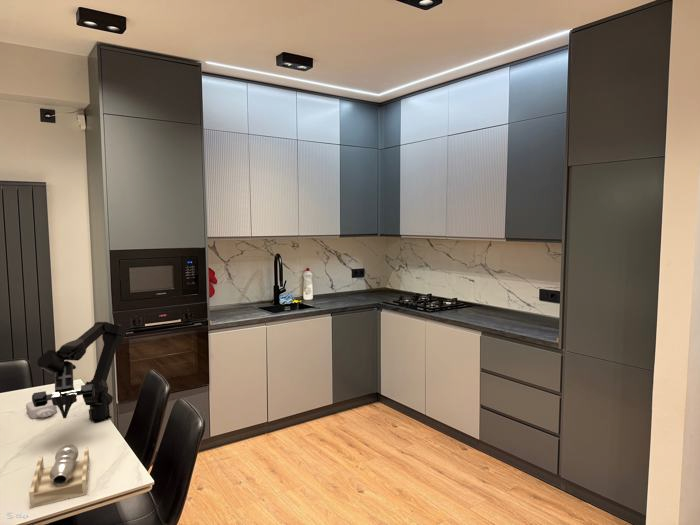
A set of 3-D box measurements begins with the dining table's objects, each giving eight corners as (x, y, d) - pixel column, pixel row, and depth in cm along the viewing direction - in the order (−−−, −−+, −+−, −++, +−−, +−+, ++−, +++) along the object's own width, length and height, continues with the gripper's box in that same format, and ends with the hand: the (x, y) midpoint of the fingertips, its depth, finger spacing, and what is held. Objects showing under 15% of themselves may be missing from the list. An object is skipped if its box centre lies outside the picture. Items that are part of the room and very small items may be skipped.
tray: (40, 470, 161) (39, 457, 160) (89, 460, 167) (88, 447, 166) (30, 507, 140) (29, 492, 140) (86, 494, 146) (85, 479, 146)
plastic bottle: (83, 452, 167) (77, 481, 149) (63, 465, 165) (54, 496, 147) (72, 438, 165) (64, 465, 147) (51, 450, 163) (41, 480, 145)
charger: (34, 424, 197) (26, 413, 208) (61, 417, 203) (52, 407, 214) (33, 413, 197) (25, 402, 208) (60, 406, 203) (51, 396, 214)
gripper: (94, 383, 190) (96, 421, 181) (37, 392, 182) (36, 433, 173) (92, 368, 182) (94, 408, 173) (32, 377, 174) (31, 419, 165)
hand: (64, 417), depth 171 cm, fingers closed
